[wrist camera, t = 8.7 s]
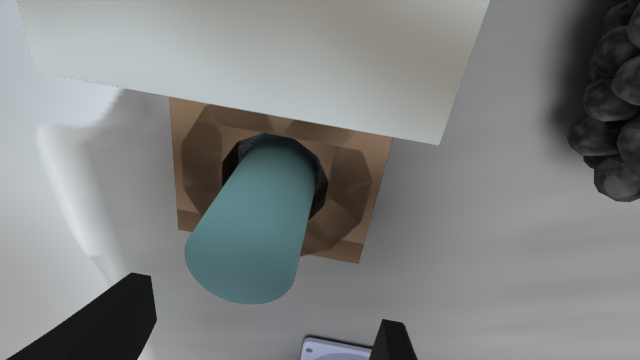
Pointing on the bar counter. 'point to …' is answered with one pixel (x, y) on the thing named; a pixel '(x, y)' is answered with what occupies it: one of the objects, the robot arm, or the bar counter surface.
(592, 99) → the fruit
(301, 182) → the peg
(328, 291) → the bar counter surface
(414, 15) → the socket station
